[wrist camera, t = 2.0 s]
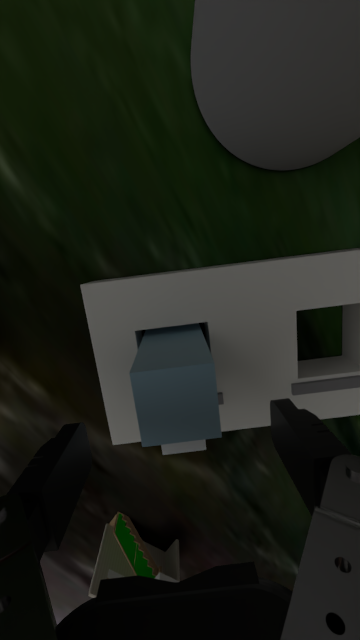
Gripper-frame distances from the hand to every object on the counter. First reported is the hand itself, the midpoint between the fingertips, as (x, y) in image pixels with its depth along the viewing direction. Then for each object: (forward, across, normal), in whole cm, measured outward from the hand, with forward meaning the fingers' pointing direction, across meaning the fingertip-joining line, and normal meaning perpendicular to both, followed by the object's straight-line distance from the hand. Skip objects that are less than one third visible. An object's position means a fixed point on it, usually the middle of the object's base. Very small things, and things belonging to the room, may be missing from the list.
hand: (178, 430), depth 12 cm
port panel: (+11, -5, 0) cm, 12 cm away
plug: (+11, 0, 0) cm, 11 cm away
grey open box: (+11, +6, +18) cm, 22 cm away
